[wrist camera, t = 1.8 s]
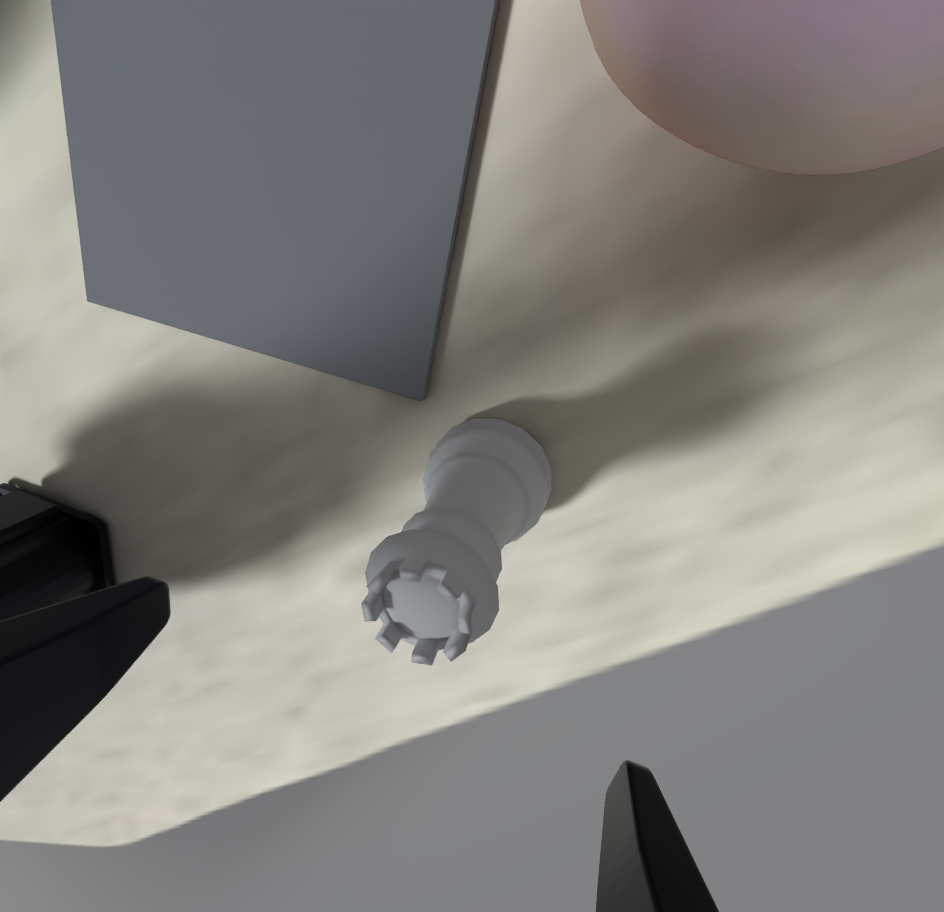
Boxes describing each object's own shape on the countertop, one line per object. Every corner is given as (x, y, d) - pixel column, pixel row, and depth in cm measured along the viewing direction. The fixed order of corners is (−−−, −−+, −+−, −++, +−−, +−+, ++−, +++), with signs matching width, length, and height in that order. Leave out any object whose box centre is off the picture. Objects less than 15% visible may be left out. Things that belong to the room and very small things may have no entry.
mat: (425, 398, 17) (421, 401, 17) (96, 300, 19) (87, 301, 18) (553, -293, 10) (552, -314, 10) (25, -336, 12) (8, -354, 12)
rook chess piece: (429, 510, 19) (321, 664, 11) (440, 401, 17) (321, 504, 10) (541, 538, 18) (501, 722, 11) (565, 427, 16) (537, 559, 9)
